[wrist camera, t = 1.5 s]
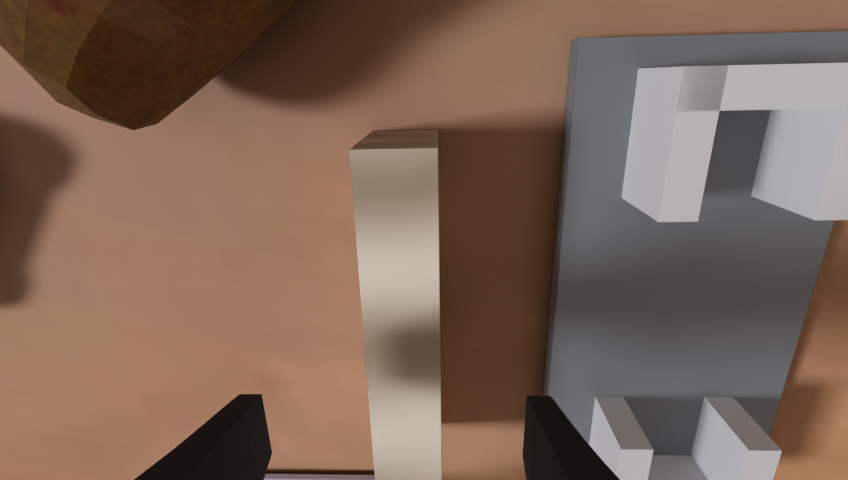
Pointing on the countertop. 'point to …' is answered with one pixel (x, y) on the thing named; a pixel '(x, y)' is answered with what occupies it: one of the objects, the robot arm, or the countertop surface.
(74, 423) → the countertop surface
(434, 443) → the slat
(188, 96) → the potato
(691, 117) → the board
